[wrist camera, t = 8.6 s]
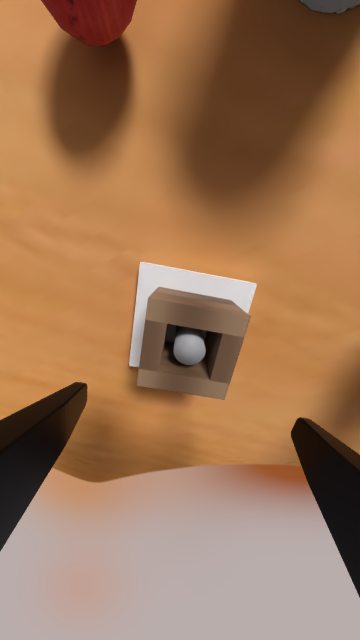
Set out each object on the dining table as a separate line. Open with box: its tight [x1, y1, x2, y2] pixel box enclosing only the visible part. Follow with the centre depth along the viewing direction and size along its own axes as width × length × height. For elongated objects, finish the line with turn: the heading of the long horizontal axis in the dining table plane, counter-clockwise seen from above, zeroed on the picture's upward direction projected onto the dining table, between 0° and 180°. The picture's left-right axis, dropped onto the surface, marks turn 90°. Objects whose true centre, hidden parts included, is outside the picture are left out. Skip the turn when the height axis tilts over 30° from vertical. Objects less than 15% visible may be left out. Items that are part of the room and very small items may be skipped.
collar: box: [137, 287, 251, 400], centre depth 15 cm, size 6×6×5 cm
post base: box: [129, 262, 257, 367], centre depth 15 cm, size 10×10×6 cm
